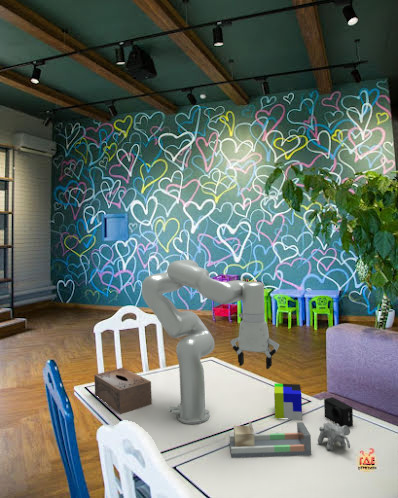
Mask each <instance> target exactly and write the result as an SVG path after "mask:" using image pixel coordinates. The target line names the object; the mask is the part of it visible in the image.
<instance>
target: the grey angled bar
mask: <svg viewBox="0 0 398 498" xmlns="http://www.w3.org/2000/svg"><path fill="white" fill-rule="evenodd" d="M296 424H297V425H296V427H297V428H296V429H297V431H296V433H298V439H299V441H300V443H301V444H304V448H305V451H311V452H312V441H311V439H312V437H311V436H312V435H311V433H310V432H309V430H308V429H307V426H306V425H305V423H304V422H303V421H300V422H296Z"/></svg>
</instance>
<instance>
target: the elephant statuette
mask: <svg viewBox="0 0 398 498" xmlns="http://www.w3.org/2000/svg"><path fill="white" fill-rule="evenodd" d="M318 428H319V435H318V438H317V442H318V445H322V444H323V442H324V439H325V438H326V439H327V445H326V446H325V448H326V450H328V451H333V450H334V445H335V442H338V443H339V444H340V446H341V448H345V447H346V446H347V448H348V449H350V448H351V443H350V441H349V439H348V437H347V436H349V435H350V433H351V428H350V427H348V426H346V425H345V426H342V427H341V426H340V425H339V424H338V423H337V424H335V423H331V422H326V423H323V426H320V427H318Z"/></svg>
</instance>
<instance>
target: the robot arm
mask: <svg viewBox="0 0 398 498" xmlns="http://www.w3.org/2000/svg"><path fill="white" fill-rule="evenodd" d="M184 286H187V287H189V288H191V289H194V290H196V291H198V293H199V294H200V295H201V296H202V297H203V298H206V299H208V300H210V301H213V302H215V303H217V304H221V305H229V304H233V303H237V302H240V301H242V303H241V304H242V312H241V313H238V317H239V318H241V319H242V320H241V321H240V322H239V330H238V337H236V338H234V339H233V338H232V339H231V340H230V341H229V342H230V344H231V345H230V346H231V347H232V349H233V350H234V351H235V353H236V355H237V362H238V365H239V367H242V366H243V365H244V364H245V358H244V357H245V355H244V354H245V353H244V351H245V352H253V353H264V354H265V356H266V357H265V367H266V370H269V369H270V368H271V367H272V366H273V364H272V363H273V358H272V357H273V356H274V355H275V354H276V353H277V351H278V349H279V348H280V344H279V343H278V342H276V341H274V340H273V339H271V338H270V335H269V334H270V333H269V328H268V323H267V321H266V319H265V318H266V317H265V286H264V284H263V282H260V281H245V280H240V279H239V280H238V279H236V280H230V281H225V282H223V281H219V280H217V279H214V278H212V277H210V272H209V271H208V269H206V268H204V267H200V266H199V265H198V263H197V262H196V261H195V260H193V259H181V260H174V261H172V262H171V263H169V265H168V266H167V269H166V272H159V273H154V274H150V275H148V276H147V277H145V278H144V280H143V281H142V283H141V295H142V298H143V300H144V302H145V304H146V305H147V306H148V307H149V309H150V310H151V311H152V313H153V314H154V315H155V317H156V318H157V320H158V321H159V323H160V324H161V327H162V328H163V329H164V330H165V332H166V333H167V335H168V336H169V337H170V338H173V339H177V338H181V339H180V340H179V341H178V343H177V344H176V349H175V353H176V357H177V362H178V368H179V369H178V370H179V389H180V392H179V393H180V403H179V404H178V405H177V406H171V405H170V406H169V412H171V414H172V415H173V414H176V415H177V416H176V418H177V420H178V422H181V423H183V424H187V425H195V424H196V425H198V424H202V423H204V422H206V421H208V420H209V418H210V410H207V409H206V396H205V395H206V394H205V393H206V391H205V389H206V388H205V385H206V384H205V371H204V367H203V364H202V361H201V358H203V357H206V356H208V355H210V354H211V353H212V352H213V351H214V349H215V339H214V337H213V336H212V334H211V332H210V330H209V329H208V327H206V325H205V324H204V323H203V321H202V320H201V318H200V317H199V316H198V315H197V313H195V312H193V311H191V310H184V311H179V310H178V308H177V307H176V306H175V304H174V303H173V302H172V300H170V299H169V298H168V297H166V296H165V295H164V294H168V293H173V292H176V291H178V290H180V289H181V288H183V287H184ZM184 336H185V337H184ZM237 342H238V345H237V344H236V343H237ZM270 345H271V346H273V349H272V350H271V348H270Z"/></svg>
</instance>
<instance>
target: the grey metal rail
mask: <svg viewBox="0 0 398 498" xmlns="http://www.w3.org/2000/svg"><path fill="white" fill-rule="evenodd" d="M228 438H229V439H228V440H229V442H230V443H229V449H230V455H231V458H232V459H233V458H235V459H237V458H259V457H260V458H261V457H294V456H311V455H312V450H311V451H305V448H304V444H301V443H300V441H299V439H298V433H297V432H282V433H281V432H279V433H255V436H254V446H241V447H235V443H234V434H229V436H228Z"/></svg>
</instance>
